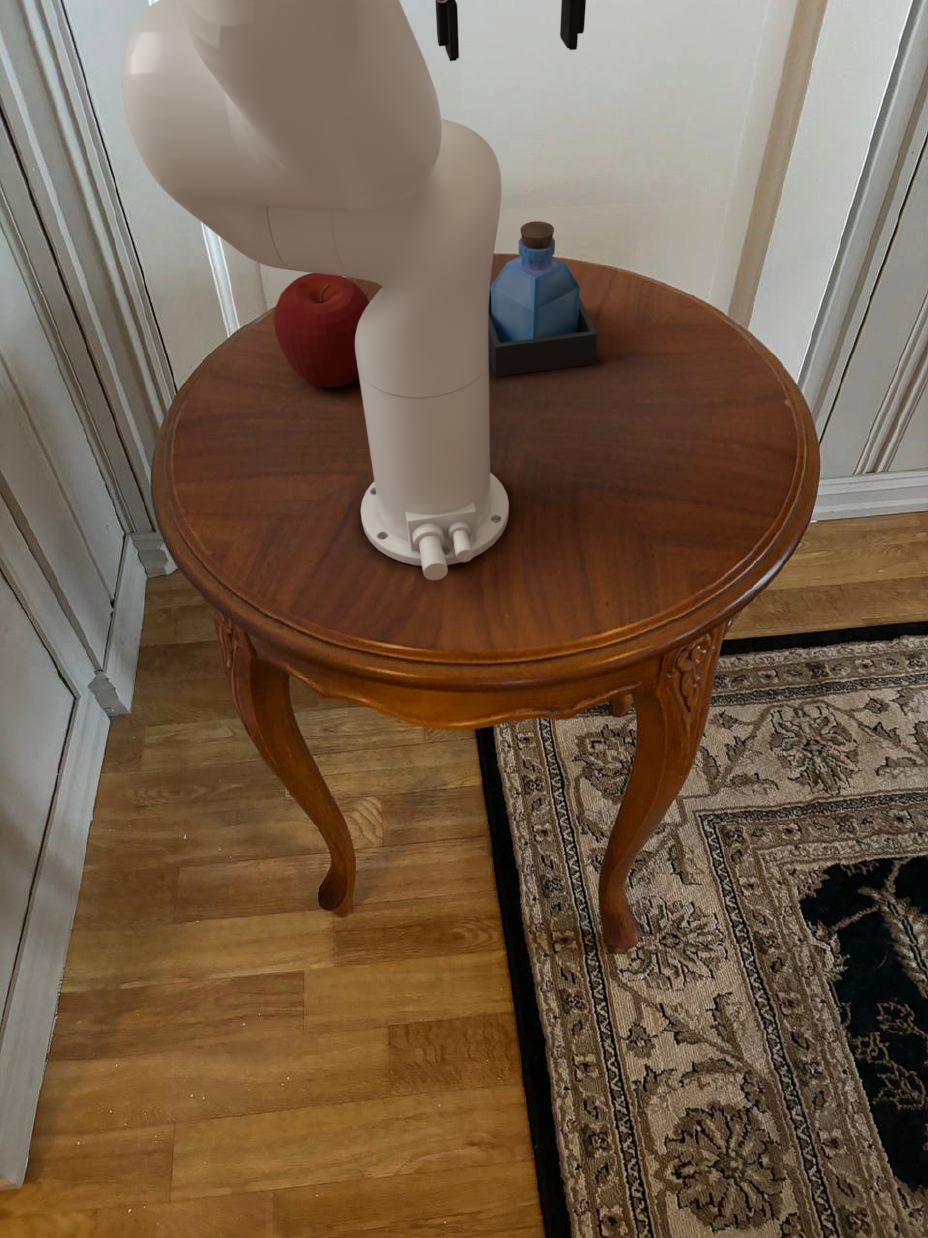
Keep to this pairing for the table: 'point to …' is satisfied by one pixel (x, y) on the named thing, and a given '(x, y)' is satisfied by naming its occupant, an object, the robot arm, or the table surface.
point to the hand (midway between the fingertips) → (510, 49)
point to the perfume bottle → (535, 290)
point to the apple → (320, 328)
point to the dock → (543, 349)
